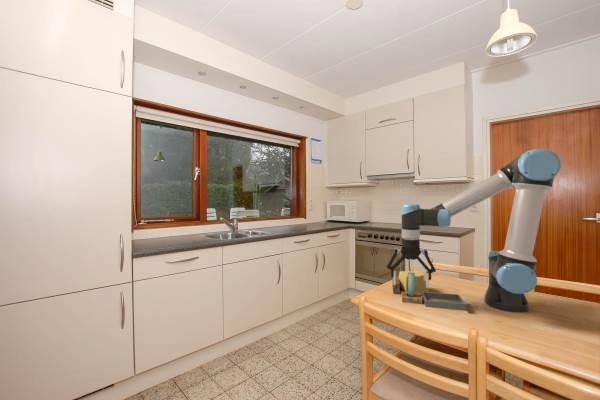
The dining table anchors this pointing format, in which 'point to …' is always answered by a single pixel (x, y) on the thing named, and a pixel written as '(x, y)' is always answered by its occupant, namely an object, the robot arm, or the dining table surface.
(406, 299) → the holder
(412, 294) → the dowel
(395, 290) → the bar
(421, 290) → the cheese
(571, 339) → the dining table surface
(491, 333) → the dining table surface
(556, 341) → the dining table surface
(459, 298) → the tray
